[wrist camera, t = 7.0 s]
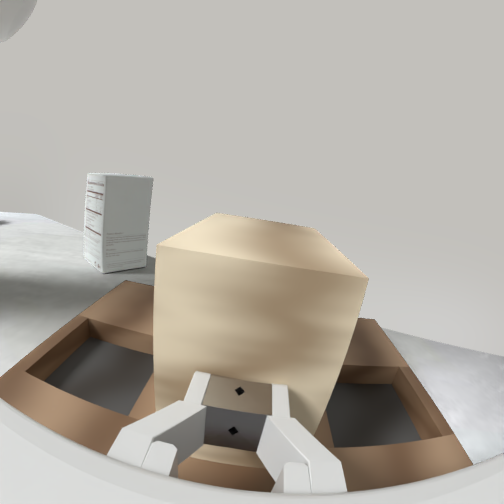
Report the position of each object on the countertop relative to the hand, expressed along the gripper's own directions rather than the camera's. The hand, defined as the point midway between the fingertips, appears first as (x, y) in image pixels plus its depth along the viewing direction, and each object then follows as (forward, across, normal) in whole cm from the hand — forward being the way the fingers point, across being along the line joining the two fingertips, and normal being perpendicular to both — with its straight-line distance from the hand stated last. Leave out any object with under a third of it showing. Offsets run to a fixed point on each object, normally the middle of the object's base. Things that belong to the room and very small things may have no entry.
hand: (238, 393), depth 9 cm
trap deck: (+6, 0, +6) cm, 9 cm away
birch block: (+5, 0, +4) cm, 7 cm away
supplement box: (+28, +20, +7) cm, 35 cm away
